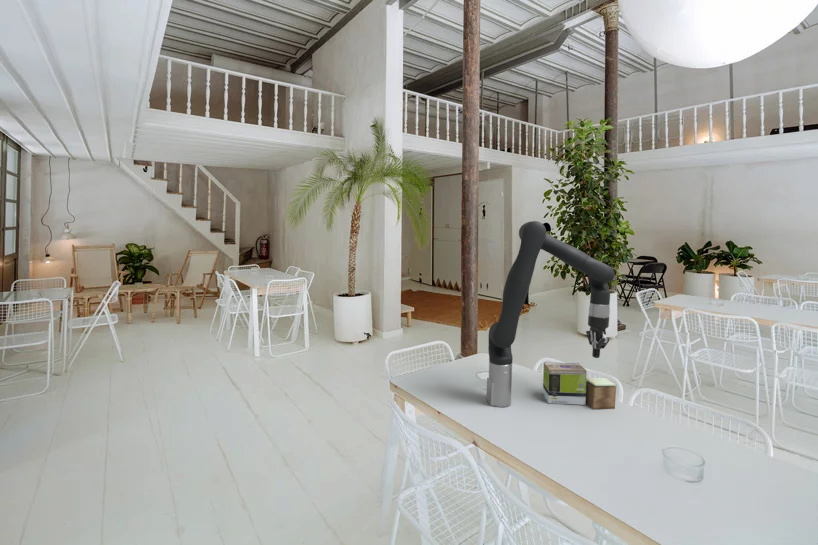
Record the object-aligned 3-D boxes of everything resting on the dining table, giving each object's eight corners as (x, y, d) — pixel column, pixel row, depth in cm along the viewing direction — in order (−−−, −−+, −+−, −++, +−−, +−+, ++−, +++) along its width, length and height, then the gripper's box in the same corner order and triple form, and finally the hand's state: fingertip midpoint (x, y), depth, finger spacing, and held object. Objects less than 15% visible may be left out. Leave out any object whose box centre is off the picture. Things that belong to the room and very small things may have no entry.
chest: (593, 409, 161) (594, 387, 160) (584, 402, 168) (585, 381, 167) (614, 408, 162) (616, 386, 161) (604, 401, 169) (605, 380, 168)
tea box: (578, 395, 175) (579, 362, 173) (585, 405, 165) (587, 370, 163) (542, 394, 176) (543, 361, 175) (547, 404, 166) (549, 368, 165)
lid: (595, 386, 160) (595, 384, 160) (585, 379, 167) (585, 378, 167) (616, 386, 161) (617, 384, 161) (606, 379, 168) (606, 378, 168)
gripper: (581, 311, 167) (578, 352, 169) (599, 318, 154) (596, 362, 156) (598, 311, 168) (595, 352, 170) (618, 318, 155) (614, 362, 157)
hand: (595, 357), depth 163 cm, fingers closed
